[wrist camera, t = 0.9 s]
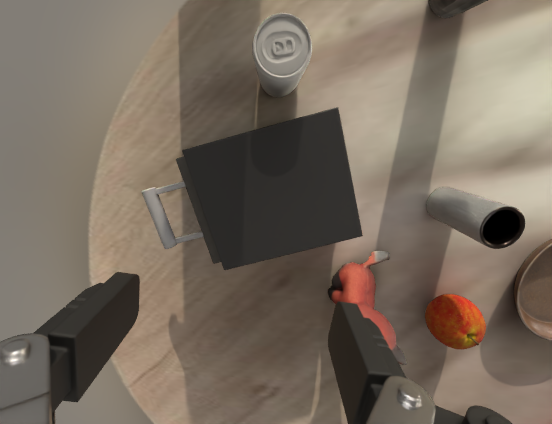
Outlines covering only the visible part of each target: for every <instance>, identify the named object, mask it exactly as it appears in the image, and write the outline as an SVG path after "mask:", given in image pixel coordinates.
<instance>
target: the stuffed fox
mask: <svg viewBox="0 0 552 424" xmlns="http://www.w3.org/2000/svg"><path fill="white" fill-rule="evenodd" d="M389 258H390V256H389V252H384V251H375V252H371V256H369V260H368V261H366V262H365V263H364V264H360V265H358V264H356V263H354V262H353V263H352V262H350V263H348V264H344V265H343V266H342V268H341V269H339V270H338V272H337V273H336V274H335V275H334V276H333V279H332V286H331V287H330V288H329V289H328V294H329V297H330V299H331V300H332V301H333V302H334V303H335V304H337V302H338V301H340V302H348V303H355V304H357V305H358V307H359V309H360V311H361V313H362V315H363V317H365V318H370V319H371V320H372V321H373V322H374V323H375V324H376V325H377V326H378V327H379V329H380V330H381V332H382V334H383V336H384V339H385V340H386V341H387V343H388V345H389V348H390V349H391V351H392V352H393V354H394V356H395V358H396V360H397V362H398V363H399V364H402V365H406V364H407V360H406V358H405V356H404V353H403V351H402V350H401V349H400V348H398V347H397V345H396V335H395V332H394V329H393V327H392V326H391V324H390V323H389V321H388V320H387V319H386V318H385V317H384V316H383V315H382V314H381V313H380V312H378V311H376V310H374V304H375V300H374V295H375V289H376V284H375V278H374V276H373V274H372V272H371V271H370V266H371V265H374V264H377V263H380V262H383V261H385V260H389Z"/></svg>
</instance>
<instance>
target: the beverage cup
mask: <svg viewBox="0 0 552 424" xmlns="http://www.w3.org/2000/svg"><path fill="white" fill-rule="evenodd" d="M485 1H488V0H429V4H430V7H431V9H432V11H433V12H434V13H435V14H436V15H438V16H439V17H443V18H449V17H453V16H455V15H457V14H459V13H463V12H465V11H467V10H469V9H471V8H473V7H475V6H477V5H479V4H481V3H483V2H485Z"/></svg>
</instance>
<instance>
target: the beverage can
mask: <svg viewBox="0 0 552 424" xmlns="http://www.w3.org/2000/svg"><path fill="white" fill-rule="evenodd" d="M252 49H253V57H254V61H255V65H256V69H257V73H258V77H259V81H260V84H261V86H262V88H263V89H264V90H265V91H266V92H267V93H268V94H269V95H271V96H274V97H284V96H286V95H288V94H289V93H291V92H292V91H293V90H294V89H295V88H296V86H297V85H298V83H299V81H300V79H301V77H302V75H303V73H304V72H305V70H306V68H307V66H308V64H309V62H310V58H311V54H312V42H311V37H310V33H309V31H308V29H307V27H306V25H305V24H304V23H303V22H302V21H301V20H300V19H299V18H297V17H296V16H294V15H291V14H288V13H277V14H274V15H271V16H269V17H268V18H266V19H265V20H264V21H263V22H262V23H261V24H260V26H259V27H258V29H257V31H256V33H255V36H254V40H253V44H252Z"/></svg>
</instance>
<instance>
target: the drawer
mask: <svg viewBox="0 0 552 424" xmlns="http://www.w3.org/2000/svg"><path fill="white" fill-rule="evenodd" d="M176 161H177V164H178V167H179V169H180V172H181V175H182V178H183V180H184V181H183V182H179V183H175V184H172V185H168V186H164V187H161V188H157V189H156V188H155V187H152V188H149V189H146V190H143V191H141V192H142V195H143V197H144V199H145V202H146V204H147V207H148V209H149V212H150V214H151V217H152V219H153V222H154V224H155V226H156V229H157V231H158V234H159V236H160V239H161V241H162V244H163V246H164V248H165V249H169V248H172V247H174V246H176V245H177V243H181V242H185V241H189V240H193V239H197V238H201V237H204V239H205V242H206V244H207V247H208V250H209V253H210V255H211V258H212V261H213V263H214V264H215V263H219V262H221V260H220V257H219V254H218V251H217V248H216V245H215V242H214V240H213V237H212V234H211V231H210V228H209V225H208V222H207V220H206V217H205V214H204V211H203V208H202V205H201V203H200V200H199V197H198V194H197V191H196V188H195V185H194V183H193V180H192V177H191V174H190V171H189V168H188V165H187V163H186V160H185V157H181V158H177V159H176ZM183 187H186V189H187V192H188V194H189V197H190V200H191V203H192V205H193V208H194V211H195V214H196V217H197V219H198V222H199V225H200V228H201V230H202V231H199V232H195V233H192V234H188V235H184V236H180V237H176V238H175V236H174V234H173V231H172V228H171V226H170V223H169V221H168V218H167V216H166V213H165V211H164V208H163V205H162V203H161V200H160V198H159V195H158V194H161V193H165V192H168V191H172V190H176V189H180V188H183Z"/></svg>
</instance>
